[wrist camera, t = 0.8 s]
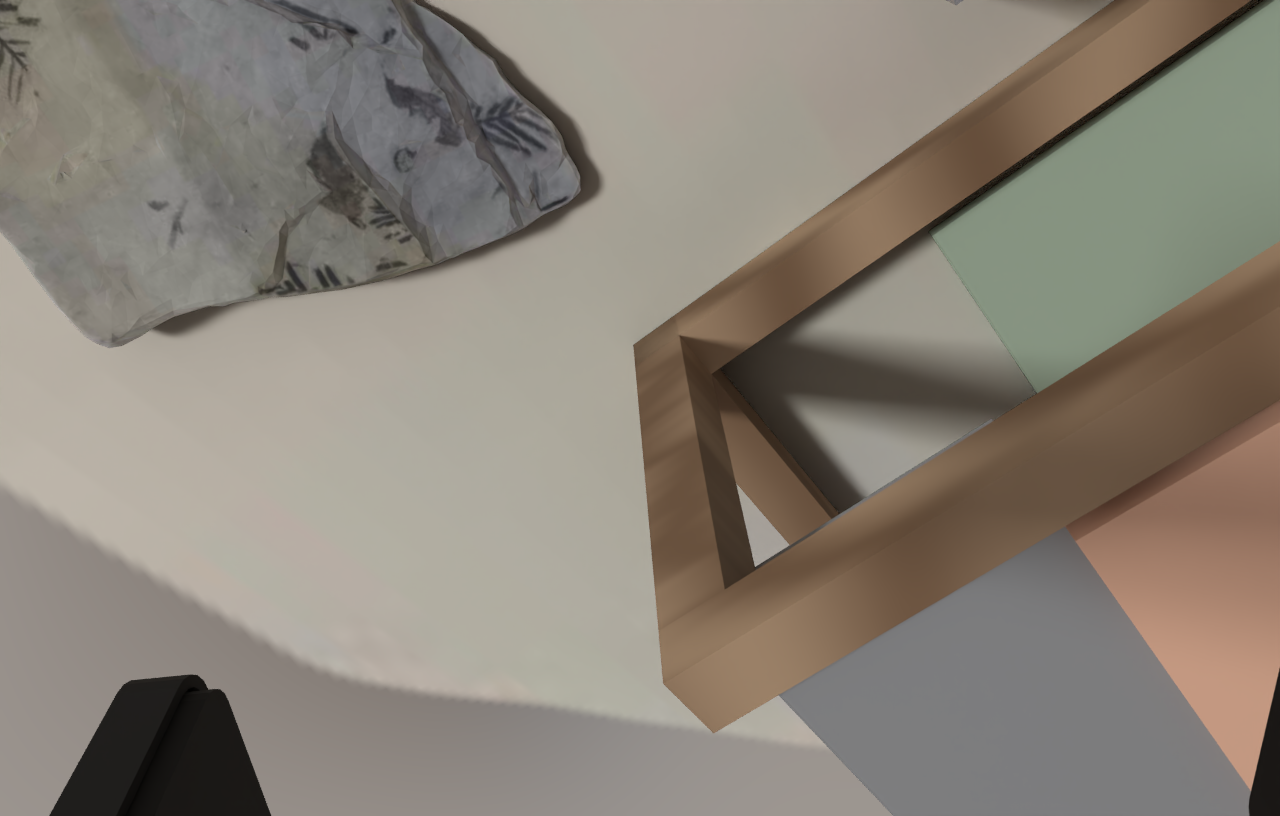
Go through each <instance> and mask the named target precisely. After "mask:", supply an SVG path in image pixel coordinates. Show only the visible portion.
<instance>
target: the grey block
mask: <svg viewBox="0 0 1280 816" xmlns="http://www.w3.org/2000/svg"><path fill="white" fill-rule="evenodd" d="M947 1H949V2H951V3H953V4H955V5H957V4H959V3H960V2H961V1H963V0H947Z"/></svg>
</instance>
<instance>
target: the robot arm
mask: <svg viewBox="0 0 1280 816" xmlns="http://www.w3.org/2000/svg"><path fill="white" fill-rule="evenodd" d="M50 816H271V814H270V811H269V809H268V806H267V803H266V801H265V798H264V795H263V793H262V790H261V787H260V784H259V782H258V779H257V776H256V774H255V771H254V768H253V766H252V763H251V761H250V758H249V755H248V752H247V750H246V747H245V744H244V742H243V739H242V736H241V733H240V731H239V728H238V725H237V723H236V720H235V717H234V715H233V712H232V709H231V707H230V704H229V701H228V700H227V698H226V695H225V693H224V692H222V691H221V690H220V689H212V690H208V688H207V686H206V684H205V682H204V681H203V680H202V679H201V678H200V677H199V676H198V675H181V676H171V677H162V678H151V679H141V680H131V681H129V682H128V683H126V684H124V685H123V686H122V688H121V689H120V690H119V691H118V693H117V694H116V696H115V698H114V700H113V702H112V703H111V705H110V707H109V709H108V711H107V712H106V714H105V716H104V718H103V720H102V721H101V723H100V725H99V727H98V729H97V731H96V732H95V734H94V736H93V738H92V740H91V741H90V743H89V745H88V747H87V749H86V750H85V752H84V754H83V756H82V758H81V759H80V761H79V763H78V765H77V767H76V768H75V770H74V772H73V774H72V776H71V778H70V779H69V781H68V783H67V785H66V786H65V788H64V790H63V792H62V794H61V796H60V798H59V799H58V801H57V803H56V805H55V806H54V809H53V810H52V812H51V814H50ZM1249 816H1280V668H1279V673H1278V677H1277V681H1276V686H1275V690H1274V694H1273V699H1272V703H1271V707H1270V711H1269V716H1268V720H1267V724H1266V729H1265V733H1264V737H1263V742H1262V746H1261V750H1260V755H1259V759H1258V763H1257V768H1256V772H1255V776H1254V780H1253V785H1252V789H1251V793H1250V798H1249Z"/></svg>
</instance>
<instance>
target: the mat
mask: <svg viewBox="0 0 1280 816" xmlns="http://www.w3.org/2000/svg"><path fill="white" fill-rule="evenodd" d="M929 233H930V234H931V236H932V237H933V239H934V240H935V242H936V243H937V245H938V246H939V248H940V249H941V251H942V252H943V254H944V255H945V257H946V258H947V260H948V261H949V263H950V264H951V266H952V267H953V269H954V270H955V272H956V273H957V275H958V276H959V278H960V279H961V281H962V282H963V284H964V285H965V287H966V288H967V290H968V291H969V293H970V294H971V296H972V297H973V299H974V300H975V302H976V303H977V305H978V306H979V308H980V309H981V311H982V312H983V314H984V315H985V317H986V318H987V320H988V321H989V323H990V324H991V326H992V327H993V329H994V330H995V332H996V333H997V335H998V336H999V338H1000V339H1001V341H1002V342H1003V344H1004V345H1005V347H1006V348H1007V350H1008V351H1009V353H1010V354H1011V356H1012V357H1013V359H1014V360H1015V362H1016V363H1017V365H1018V366H1019V368H1020V369H1021V371H1022V372H1023V373H1024V375H1025V376H1026V378H1027V379H1028V381H1029V382H1030V384H1031V385H1032V387H1033V388H1034V390H1035V391H1036V393H1039V392H1040V391H1042V390H1043V389H1045V388H1047V387H1048V386H1050V385H1051V384H1053V383H1055V382H1056V381H1058V380H1059V379H1061V378H1063V377H1064V376H1066V375H1067V374H1069V373H1070V372H1072V371H1074V370H1075V369H1077V368H1078V367H1080V366H1082V365H1083V364H1085V363H1086V362H1088V361H1090V360H1091V359H1093V358H1094V357H1096V356H1098V355H1099V354H1101V353H1102V352H1104V351H1106V350H1107V349H1109V348H1110V347H1112V346H1113V345H1115V344H1117V343H1118V342H1120V341H1121V340H1123V339H1125V338H1126V337H1128V336H1129V335H1131V334H1133V333H1134V332H1136V331H1137V330H1139V329H1141V328H1142V327H1144V326H1145V325H1147V324H1149V323H1150V322H1152V321H1153V320H1155V319H1156V318H1158V317H1160V316H1161V315H1163V314H1164V313H1166V312H1168V311H1169V310H1171V309H1172V308H1174V307H1176V306H1177V305H1179V304H1180V303H1182V302H1184V301H1185V300H1187V299H1188V298H1190V297H1192V296H1193V295H1195V294H1196V293H1198V292H1199V291H1201V290H1203V289H1204V288H1206V287H1207V286H1209V285H1211V284H1212V283H1214V282H1215V281H1217V280H1219V279H1220V278H1222V277H1223V276H1225V275H1227V274H1228V273H1230V272H1231V271H1233V270H1235V269H1236V268H1238V267H1239V266H1241V265H1242V264H1244V263H1246V262H1247V261H1249V260H1250V259H1252V258H1254V257H1255V256H1257V255H1258V254H1260V253H1262V252H1263V251H1265V250H1266V249H1268V248H1270V247H1271V246H1273V245H1274V244H1276V243H1277V242H1279V241H1280V0H1263V1H1262V2H1260V3H1259V4H1258V5H1256V6H1255V7H1253V8H1252V9H1250V10H1249V11H1247V12H1246V13H1244V14H1243V15H1242V16H1240V17H1239V18H1237V19H1236V20H1234V21H1233V22H1231V23H1230V24H1229V25H1227V26H1226V27H1224V28H1223V29H1221V30H1220V31H1218V32H1217V33H1215V34H1214V35H1213V36H1211V37H1210V38H1208V39H1207V40H1205V41H1204V42H1202V43H1201V44H1200V45H1198V46H1197V47H1195V48H1194V49H1192V50H1191V51H1189V52H1188V53H1187V54H1185V55H1184V56H1182V57H1181V58H1179V59H1178V60H1176V61H1175V62H1173V63H1172V64H1171V65H1169V66H1168V67H1166V68H1165V69H1163V70H1162V71H1160V72H1159V73H1158V74H1156V75H1155V76H1153V77H1152V78H1150V79H1149V80H1147V81H1146V82H1144V83H1143V84H1142V85H1140V86H1139V87H1137V88H1136V89H1134V90H1133V91H1131V92H1130V93H1129V94H1127V95H1126V96H1124V97H1123V98H1121V99H1120V100H1118V101H1117V102H1115V103H1114V104H1113V105H1111V106H1110V107H1108V108H1107V109H1105V110H1104V111H1102V112H1101V113H1100V114H1098V115H1097V116H1095V117H1094V118H1092V119H1091V120H1089V121H1088V122H1087V123H1085V124H1084V125H1082V126H1081V127H1079V128H1078V129H1076V130H1075V131H1073V132H1072V133H1071V134H1069V135H1068V136H1066V137H1065V138H1063V139H1062V140H1060V141H1059V142H1058V143H1056V144H1055V145H1053V146H1052V147H1050V148H1049V149H1047V150H1046V151H1044V152H1043V153H1042V154H1040V155H1039V156H1037V157H1036V158H1034V159H1033V160H1031V161H1030V162H1029V163H1027V164H1026V165H1024V166H1023V167H1021V168H1020V169H1018V170H1017V171H1015V172H1014V173H1013V174H1011V175H1010V176H1008V177H1007V178H1005V179H1004V180H1002V181H1001V182H1000V183H998V184H997V185H995V186H994V187H992V188H991V189H989V190H988V191H987V192H985V193H984V194H982V195H981V196H979V197H978V198H976V199H975V200H973V201H972V202H971V203H969V204H968V205H966V206H965V207H963V208H962V209H960V210H959V211H958V212H956V213H955V214H953V215H952V216H950V217H949V218H947V219H946V220H944V221H943V222H942V223H940V224H939V225H937V226H936V227H934V228H933V229H931V230H930V231H929Z"/></svg>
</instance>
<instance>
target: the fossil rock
mask: <svg viewBox="0 0 1280 816" xmlns="http://www.w3.org/2000/svg"><path fill="white" fill-rule="evenodd" d="M580 191H581V184H580V174H579V172H578V169H577V168H576V166H575V164H574V162H573V161H572V159H571V157H570V156H569V154H568V152H567V151H566V149H565V145H564V142H563V138H562V135H561V134H560V133H559V131H558V130H557V128H556V127H555V125H554V124H553V122H552V121H551V120H550V119H549V118H548V117H547V116H545V115H544V114H543V113H542V112H541V111H540V110H539V109H538V108H537V107H536V106H535V105H533V104H532V103H531V102H529V101H528V100H527V99H526V98H524V97H523V96H522V95H521V94H520V93H519V92H518V91H517V90H516V89H515V88H514V86H513V85H512V84H511V83H510V82H509V81H508V79H507V78H506V77H505V75H504V74H503V72H502V70H501V68H500V67H499V65H498V63H497V61H496V60H495V59H494V58H493V57H492V56H490V55H489V54H487V53H486V52H484V51H483V50H481V49H480V48H478V47H477V46H476V45H474V43H472V42H471V41H470V40H469V39H468V38H466V37H465V36H464V35H463V34H462V33H460V32H459V31H458V30H457V29H455V28H454V27H453V26H451V25H450V24H449V23H447V22H446V21H445V20H443V19H442V18H441V17H439V16H437V15H435V14H433V13H432V12H431V11H430V10H429V9H428V8H425V7H423V6H420V5H418V4H417V3H416V1H415V0H0V232H1V233H2V235H3V236H4V237H5V238H6V240H7V241H8V242H9V244H10V245H11V246H12V247H13V249H14V250H15V251H16V253H17V254H18V256H19V257H20V258H21V260H22V261H23V262H24V264H25V265H26V266H27V268H28V269H29V271H30V272H31V273H32V275H33V276H34V278H35V279H36V280H37V282H38V283H39V284H40V286H41V287H42V288H43V290H44V291H45V292H46V294H47V295H48V296H49V298H50V299H51V300H52V302H53V303H54V304H55V305H56V306H57V308H58V309H59V310H60V311H61V312H62V313H63V314H64V315H65V317H66V318H67V319H68V320H69V321H70V322H71V323H72V324H73V325H74V326H75V327H76V328H77V329H78V330H79V331H80V332H81V333H82V334H83V335H84V336H85V337H87V338H88V339H90V340H91V341H93V342H95V343H96V344H99V345H102V346H105V347H108V348H111V347H118V346H122V345H124V344H126V343H128V342H130V341H132V340H134V339H136V338H138V337H140V336H142V335H143V334H145V333H146V332H148V331H149V330H151V329H152V328H154V327H155V326H157V325H159V324H161V323H163V322H165V321H167V320H168V319H170V318H173V317H175V316H179V315H182V314H185V313H189V312H192V311H196V310H199V309H202V308H206V307H209V306H226V305H229V304H231V303H235V302H244V301H253V300H258V299H264V298H269V297H288V296H296V295H304V294H311V293H319V292H326V291H334V290H342V289H347V288H351V287H356V286H360V285H365V284H369V283H374V282H378V281H383V280H386V279H389V278H393V277H396V276H399V275H402V274H405V273H408V272H411V271H413V270H417V269H421V268H425V267H429V266H433V265H437V264H439V263H441V262H443V261H445V260H447V259H450V258H454V257H456V256H458V255H460V254H462V253H465V252H467V251H470V250H473V249H476V248H479V247H481V246H484V245H486V244H489V243H491V242H494V241H496V240H499V239H501V238H504V237H507V236H509V235H512V234H514V233H516V232H518V231H520V230H522V229H523V228H525V227H527V226H528V225H530V224H531V223H532V222H534V221H535V220H536V219H538V218H539V217H541V216H542V215H544V214H546V213H548V212H551V211H553V210H556V209H558V208H560V207H562V206H565V205H567V204H568V203H569V202H570V201H571V200H572V199H574V198H575V197H576V196H577V195H578V194H579V192H580Z"/></svg>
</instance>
